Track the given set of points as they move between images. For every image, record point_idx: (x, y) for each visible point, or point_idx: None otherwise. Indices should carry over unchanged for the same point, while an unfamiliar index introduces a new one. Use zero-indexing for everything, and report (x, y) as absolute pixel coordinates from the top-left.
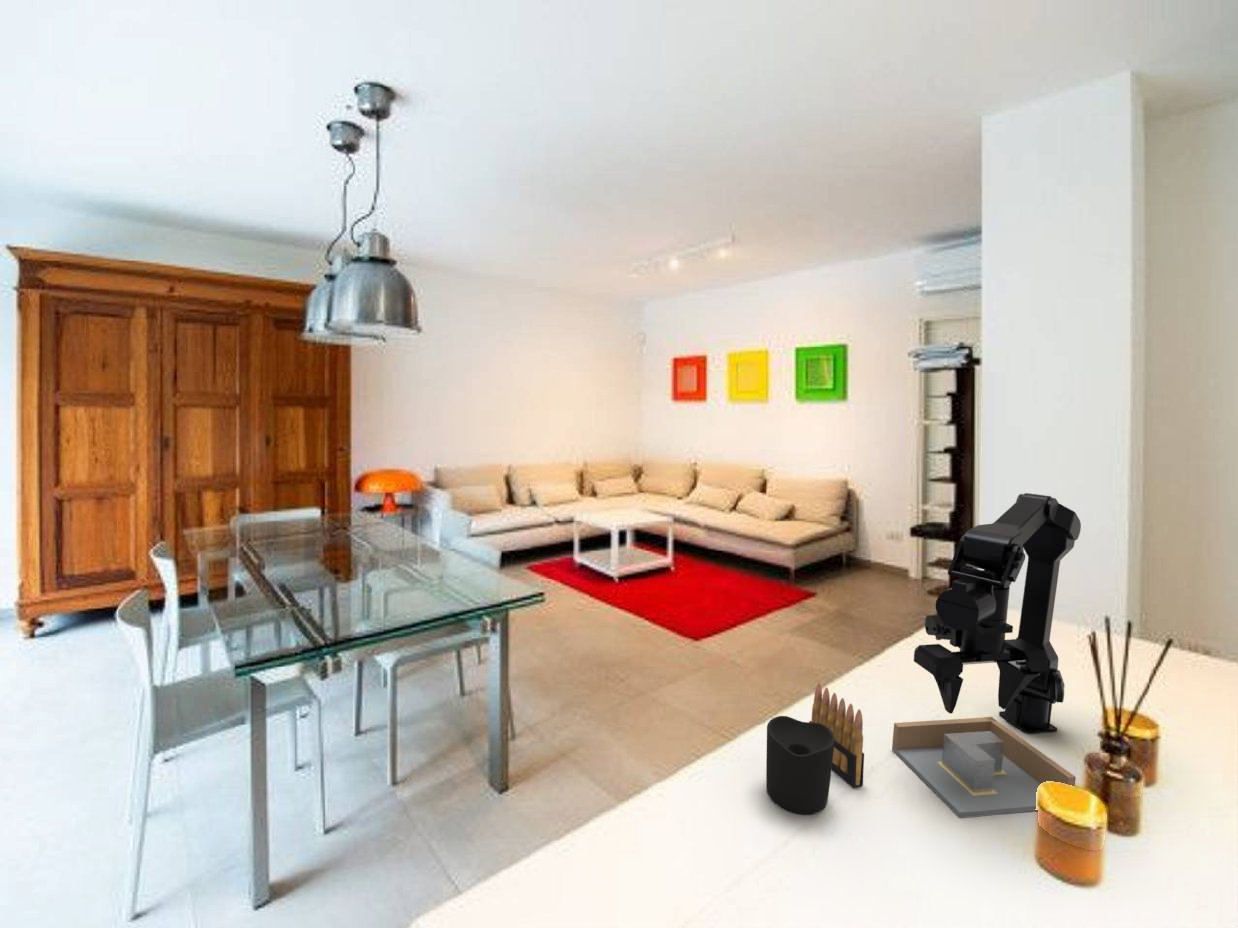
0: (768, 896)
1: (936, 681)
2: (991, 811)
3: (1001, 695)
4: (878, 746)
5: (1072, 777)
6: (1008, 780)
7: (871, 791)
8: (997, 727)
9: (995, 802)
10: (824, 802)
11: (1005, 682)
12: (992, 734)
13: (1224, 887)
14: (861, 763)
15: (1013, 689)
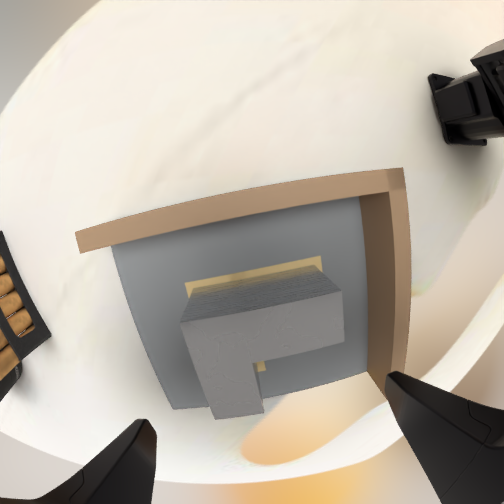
0: (19, 433)
1: (58, 490)
2: None
3: (410, 409)
4: (88, 210)
5: None
6: None
7: (61, 348)
8: (390, 219)
9: None
10: (16, 380)
11: (448, 452)
12: (336, 309)
13: None
14: (29, 347)
15: (428, 472)
